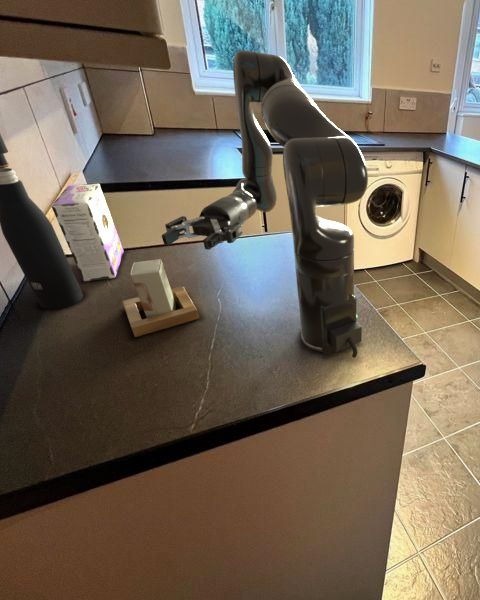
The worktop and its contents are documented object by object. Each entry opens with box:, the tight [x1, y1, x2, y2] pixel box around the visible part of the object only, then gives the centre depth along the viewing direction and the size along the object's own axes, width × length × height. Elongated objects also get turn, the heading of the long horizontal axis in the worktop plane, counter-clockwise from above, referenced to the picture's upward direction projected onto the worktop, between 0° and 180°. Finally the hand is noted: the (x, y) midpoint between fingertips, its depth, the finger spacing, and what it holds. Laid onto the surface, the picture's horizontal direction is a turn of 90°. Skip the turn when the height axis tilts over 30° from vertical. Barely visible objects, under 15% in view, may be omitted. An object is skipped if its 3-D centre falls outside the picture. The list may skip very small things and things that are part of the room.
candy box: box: [50, 183, 125, 282], centre depth 80 cm, size 14×6×16 cm, turn 25°
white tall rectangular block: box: [130, 258, 177, 318], centre depth 68 cm, size 5×4×10 cm
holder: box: [122, 285, 200, 338], centre depth 70 cm, size 10×10×2 cm
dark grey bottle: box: [0, 133, 84, 310], centre depth 64 cm, size 6×6×30 cm
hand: (185, 242), depth 75 cm, fingers open, 8 cm apart
